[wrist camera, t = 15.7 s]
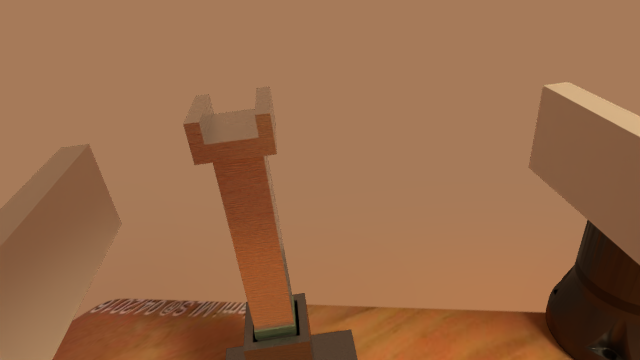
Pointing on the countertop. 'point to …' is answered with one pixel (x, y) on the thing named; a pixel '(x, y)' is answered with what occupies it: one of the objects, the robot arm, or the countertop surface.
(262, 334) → the column
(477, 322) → the countertop surface
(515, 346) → the countertop surface
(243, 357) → the stand
